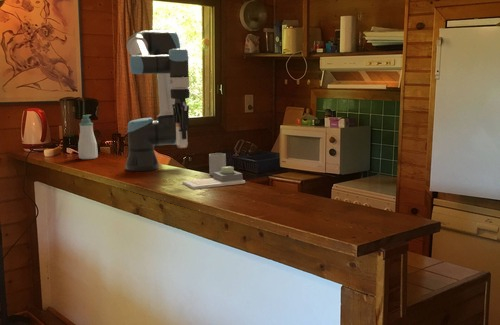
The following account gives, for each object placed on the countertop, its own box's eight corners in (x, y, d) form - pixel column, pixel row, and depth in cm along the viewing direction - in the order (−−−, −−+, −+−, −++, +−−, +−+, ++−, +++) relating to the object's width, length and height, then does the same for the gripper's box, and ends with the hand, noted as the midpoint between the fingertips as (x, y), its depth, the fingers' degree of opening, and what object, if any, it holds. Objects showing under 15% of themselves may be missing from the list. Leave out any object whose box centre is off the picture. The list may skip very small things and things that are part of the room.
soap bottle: (101, 157, 302) (99, 114, 299) (89, 160, 294) (86, 116, 290) (87, 156, 306) (84, 114, 303) (74, 159, 298) (71, 115, 294)
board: (182, 183, 226) (182, 175, 225) (232, 178, 236) (232, 170, 235) (193, 189, 215) (193, 180, 215) (245, 183, 225) (245, 174, 224)
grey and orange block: (176, 147, 230) (175, 122, 228) (184, 146, 231) (183, 122, 230) (179, 148, 227) (178, 123, 225) (187, 147, 228) (186, 123, 227)
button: (219, 174, 230) (219, 167, 229) (230, 173, 232) (230, 165, 232) (224, 176, 225) (224, 168, 225) (235, 175, 228) (235, 167, 227)
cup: (214, 176, 240) (214, 156, 239) (203, 173, 248) (202, 153, 247) (229, 174, 244) (228, 154, 243) (217, 171, 252) (217, 151, 251)
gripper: (164, 88, 231) (166, 145, 235) (177, 89, 216) (179, 149, 220) (181, 87, 234) (183, 143, 238) (196, 88, 219) (198, 148, 223)
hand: (182, 146), depth 229 cm, fingers closed on grey and orange block, 3 cm apart
